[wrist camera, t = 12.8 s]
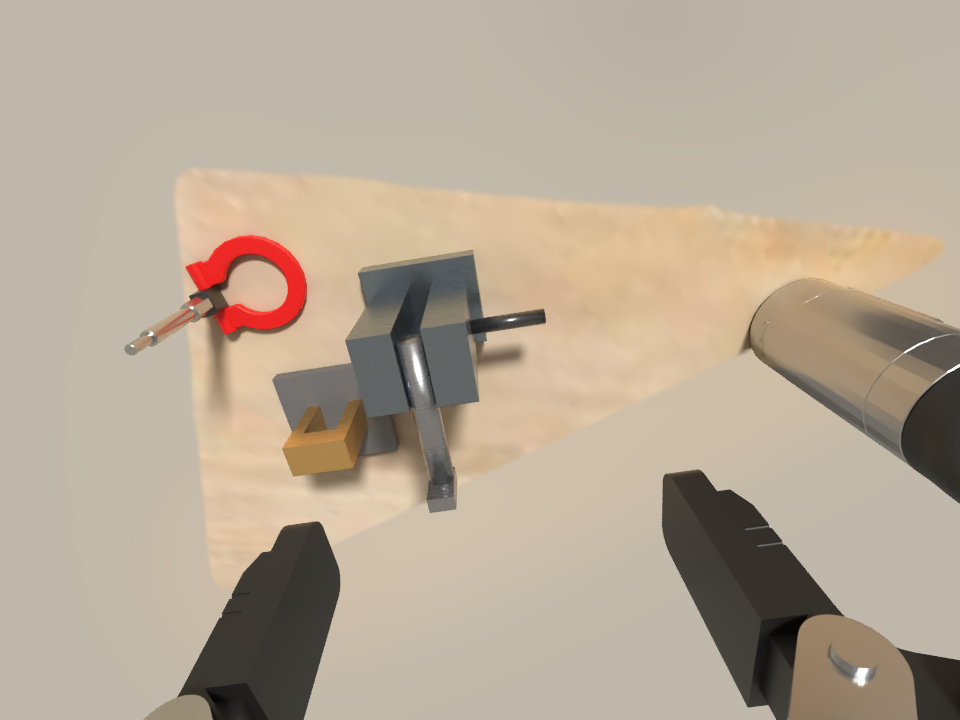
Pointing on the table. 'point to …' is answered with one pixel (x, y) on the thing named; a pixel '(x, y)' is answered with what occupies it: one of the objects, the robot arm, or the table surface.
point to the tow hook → (214, 302)
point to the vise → (424, 350)
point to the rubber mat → (332, 403)
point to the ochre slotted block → (326, 441)
